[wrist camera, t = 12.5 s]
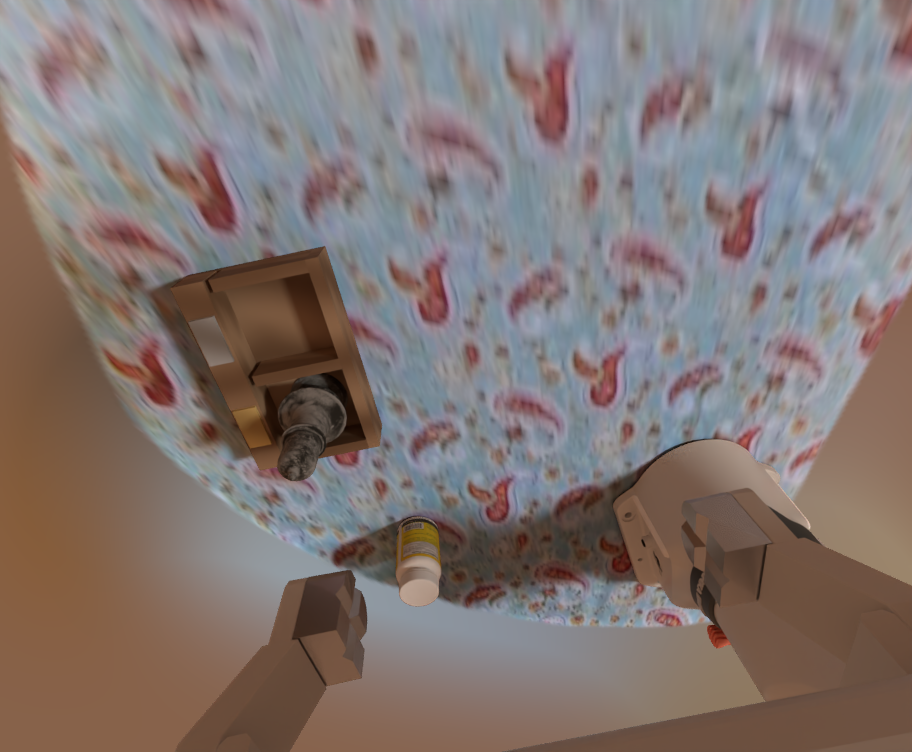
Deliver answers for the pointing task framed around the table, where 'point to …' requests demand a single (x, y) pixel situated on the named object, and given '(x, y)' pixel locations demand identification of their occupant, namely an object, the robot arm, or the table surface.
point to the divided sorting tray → (278, 345)
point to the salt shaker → (310, 423)
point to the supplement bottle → (418, 561)
